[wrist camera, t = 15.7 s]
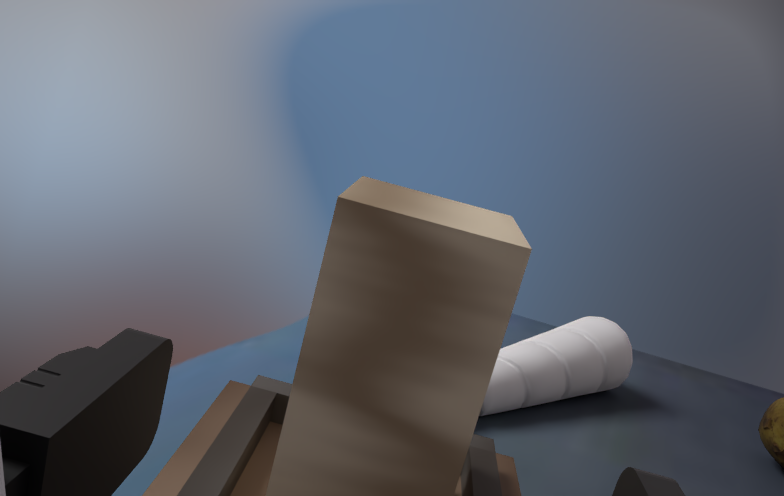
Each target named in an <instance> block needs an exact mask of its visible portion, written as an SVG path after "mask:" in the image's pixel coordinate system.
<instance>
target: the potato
mask: <svg viewBox="0 0 784 496" xmlns="http://www.w3.org/2000/svg"><path fill="white" fill-rule="evenodd" d="M758 431H759V433H760V437H761V440H762V442H763V444H764V446H765V448H766V449H767V450H768V452H769V453H770V454H771V456H772V457H773V458H774V459H775V460H776V461H777V462H778V463H779V464H780V465H781V466H782V467H783V468H784V398H781V399H778V400H776V401H775V402H774V403H772V404H771V405H770V407H769V408H768V409H767V411H766V412H765V414H764V416H763V418H762V420H761V422H760V425H759V429H758Z"/></svg>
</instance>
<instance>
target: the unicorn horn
mask: <svg viewBox="0 0 784 496" xmlns="http://www.w3.org/2000/svg"><path fill="white" fill-rule="evenodd" d="M631 366H632V346H631V344H630V341H629V339H628V337H627V334H626V333H625V332H624V331H623V330H622V329H621V328H620V327H619V326H618V325H617V324H616V323H614V322H612V321H610V320H608V319H606V318H603V317H592V316H588V317H583V318H581V319H578V320H576V321H573V322H571V323H568V324H565V325H563V326H560V327H558V328H555V329H553V330H550V331H548V332H545V333H542V334H539V335H537V336H534V337H531V338H529V339H526V340H523V341H520V342H518V343H515V344H512V345H510V346H507V347H504V348H502V349H500V351H499V354H498V357H497V360H496V364H495V367H494V370H493V373H492V376H491V379H490V382H489V386H488V389H487V392H486V395H485V398H484V401H483V405H482V408H481V411H480V414H479V416H484V415H489V414H494V413H499V412H504V411H509V410H514V409H518V408H524V407H529V406H534V405H539V404H543V403H548V402H553V401H556V400H562V399H567V398H571V397H575V396H580V395H586V394H590V393H596V392H601V391H606V390H609V389H613V388H616V387H618V386H620V385H621V384H622V383H623V382H624V380H625V379H626V378H627V377H628V375H629V372H630V369H631Z"/></svg>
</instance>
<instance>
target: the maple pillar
mask: <svg viewBox="0 0 784 496" xmlns="http://www.w3.org/2000/svg"><path fill="white" fill-rule="evenodd" d="M531 250H532V249H531V247H530V245H529V244H528V242H527V240H526V239H525V237H524V235H523V234H522V232H521V230H520V229H519V227H518V226H517V224H516V222H515V220H514V219H513V217H512V216H509V215H505V214H501V213H498V212H494V211H490V210H487V209H483V208H479V207H475V206H472V205H468V204H464V203H460V202H457V201H453V200H450V199H446V198H442V197H438V196H435V195H431V194H427V193H423V192H420V191H416V190H412V189H409V188H405V187H401V186H397V185H394V184H390V183H387V182H382V181H379V180H375V179H371V178H368V177H364V176H362V177H361V178H360V179H359V180H357V181H356V182H355V183H354V184H353V185H351V186H350V187H349V188H348V189H347V190H345V191H344V192H343V193H342V194H341V195H339V196H338V199H337V203H336V207H335V211H334V215H333V220H332V224H331V228H330V232H329V236H328V240H327V244H326V248H325V252H324V257H323V261H322V265H321V269H320V273H319V278H318V281H317V286H316V290H315V294H314V298H313V302H312V306H311V310H310V314H309V318H308V323H307V327H306V331H305V335H304V339H303V343H302V347H301V351H300V356H299V360H298V364H297V368H296V372H295V376H294V380H293V384H292V389H291V393H290V397H289V401H288V405H287V409H286V413H285V418H284V422H283V426H282V430H281V434H280V438H279V442H278V446H277V451H276V455H275V459H274V463H273V467H272V471H271V475H270V479H269V484H268V488H267V492H266V496H454V493H455V490H456V487H457V483H458V480H459V477H460V474H461V471H462V468H463V464H464V461H465V458H466V455H467V452H468V449H469V446H470V442H471V439H472V436H473V433H474V430H475V427H476V423H477V420H478V417H479V414H480V411H481V408H482V405H483V401H484V398H485V395H486V392H487V389H488V386H489V382H490V379H491V376H492V373H493V370H494V367H495V364H496V360H497V357H498V354H499V351H500V348H501V345H502V341H503V338H504V335H505V332H506V329H507V326H508V323H509V319H510V316H511V313H512V310H513V307H514V304H515V300H516V297H517V294H518V291H519V288H520V284H521V281H522V278H523V275H524V272H525V269H526V266H527V263H528V259H529V256H530V253H531Z"/></svg>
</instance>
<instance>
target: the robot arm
mask: <svg viewBox="0 0 784 496" xmlns="http://www.w3.org/2000/svg"><path fill="white" fill-rule="evenodd" d="M172 351H173V345H172V341H171V340H170V339H167V338H163V337H160V336H156V335H152V334H149V333H145V332H142V331H138V330H134V329H131V328H128V329H125V330H124V331H122V332H121V333H119V334H118V335H117V336H115V337H114V338H112V339H111V340H110V341H108V342H107V343H105V344H104V345H102V346H101V347H100V348H98V349H96V348H92V347H84V348H80V349H77V350H73V351H69V352H66V353H62V354H59V355H58V356H56V357H54V358H53V359H51V360H49V361H48V362H46V363H45V364H43V365H42V366H40V367H39V368H38V370H37V371H35V370H34V371H32V372H31V373H29V374H28V375H26V376H25V377H23V378H22V379H21V381H20V382H15V383H14V384H12V385H11V386H9V387H8V388H6V389H5V390H3V391H1V392H0V496H111V495H112V494H113V493H114V492H115V490H116V489H117V488H118V487H119V486H120V485H121V483H122V482H123V481H124V480H125V479H126V478H127V476H128V475H129V474H130V473H131V472H132V470H133V469H134V468H135V467H136V466H137V465H138V463H139V462H140V461H141V460H142V459H143V457H144V456H145V455H146V453H147V451H148V450H149V448H150V446H151V444H152V441H153V439H154V436H155V434H156V431H157V428H158V424H159V420H160V415H161V410H162V405H163V399H164V394H165V389H166V384H167V379H168V374H169V369H170V364H171V358H172ZM612 496H685V495H684V493H683V491H682V490H681V488H680V487H679V485H678V483H677V482H676V481H675V480H674V479H671V478H668V477H664V476H661V475H657V474H653V473H650V472H646V471H642V470H639V469H635V468H631V467H628V468H626V469H625V470H624V471H623V472H622V474H621V475H620V477H619V479H618V482H617V484H616V487H615V490H614V492H613V495H612Z"/></svg>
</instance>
